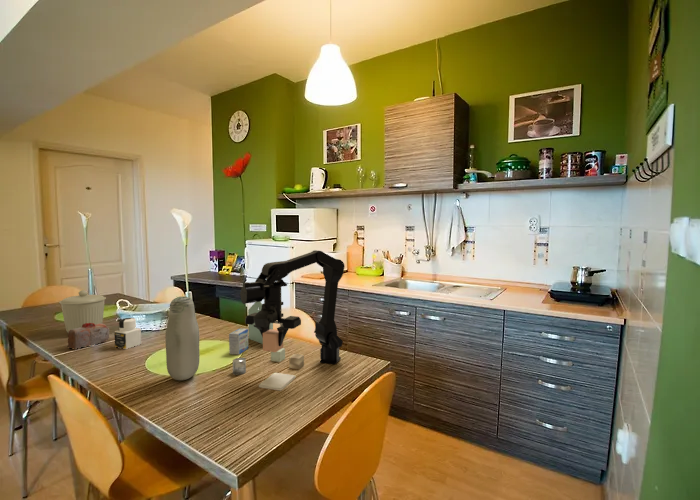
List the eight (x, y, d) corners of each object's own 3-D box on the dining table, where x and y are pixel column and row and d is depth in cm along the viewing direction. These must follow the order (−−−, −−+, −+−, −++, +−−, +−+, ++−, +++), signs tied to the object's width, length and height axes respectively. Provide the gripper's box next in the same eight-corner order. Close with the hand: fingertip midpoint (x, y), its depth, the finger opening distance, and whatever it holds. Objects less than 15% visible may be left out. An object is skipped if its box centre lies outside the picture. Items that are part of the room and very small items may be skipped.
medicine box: (239, 355, 137) (238, 334, 136) (228, 354, 138) (228, 333, 137) (248, 348, 145) (248, 328, 144) (239, 347, 146) (238, 328, 145)
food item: (100, 339, 157) (100, 318, 156) (111, 341, 153) (110, 320, 153) (66, 348, 144) (65, 325, 144) (76, 351, 141) (75, 328, 140)
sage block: (285, 358, 134) (285, 348, 133) (280, 362, 130) (280, 351, 130) (276, 357, 135) (276, 347, 135) (270, 360, 131) (270, 350, 131)
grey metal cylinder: (248, 370, 122) (248, 358, 121) (241, 375, 117) (240, 363, 117) (237, 369, 123) (237, 357, 123) (230, 374, 119) (230, 361, 118)
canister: (85, 326, 177) (83, 286, 176) (116, 328, 174) (114, 287, 173) (50, 337, 159) (48, 293, 158) (84, 339, 156) (82, 294, 155)
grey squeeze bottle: (168, 375, 118) (166, 295, 116) (200, 370, 122) (198, 293, 120) (165, 387, 109) (162, 300, 107) (199, 381, 113) (198, 298, 111)
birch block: (303, 365, 127) (303, 354, 127) (299, 369, 123) (299, 358, 123) (294, 364, 128) (294, 353, 128) (289, 368, 124) (289, 357, 124)
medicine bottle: (114, 347, 146) (113, 319, 145) (130, 342, 152) (129, 316, 152) (125, 349, 143) (124, 321, 142) (141, 344, 149) (140, 317, 149)
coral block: (283, 347, 118) (283, 330, 117) (275, 352, 113) (275, 334, 113) (270, 345, 119) (270, 329, 119) (262, 350, 115) (262, 333, 114)
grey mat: (295, 377, 116) (295, 375, 116) (281, 390, 106) (281, 388, 106) (274, 374, 118) (274, 372, 118) (258, 387, 109) (258, 384, 109)
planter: (284, 342, 153) (283, 298, 152) (269, 346, 147) (268, 301, 146) (262, 334, 164) (262, 294, 163) (248, 338, 158) (247, 296, 157)
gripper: (234, 302, 111) (235, 349, 111) (285, 307, 105) (285, 356, 105) (254, 296, 121) (255, 339, 122) (301, 300, 115) (301, 345, 116)
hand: (273, 345), depth 116 cm, fingers closed on coral block, 5 cm apart
